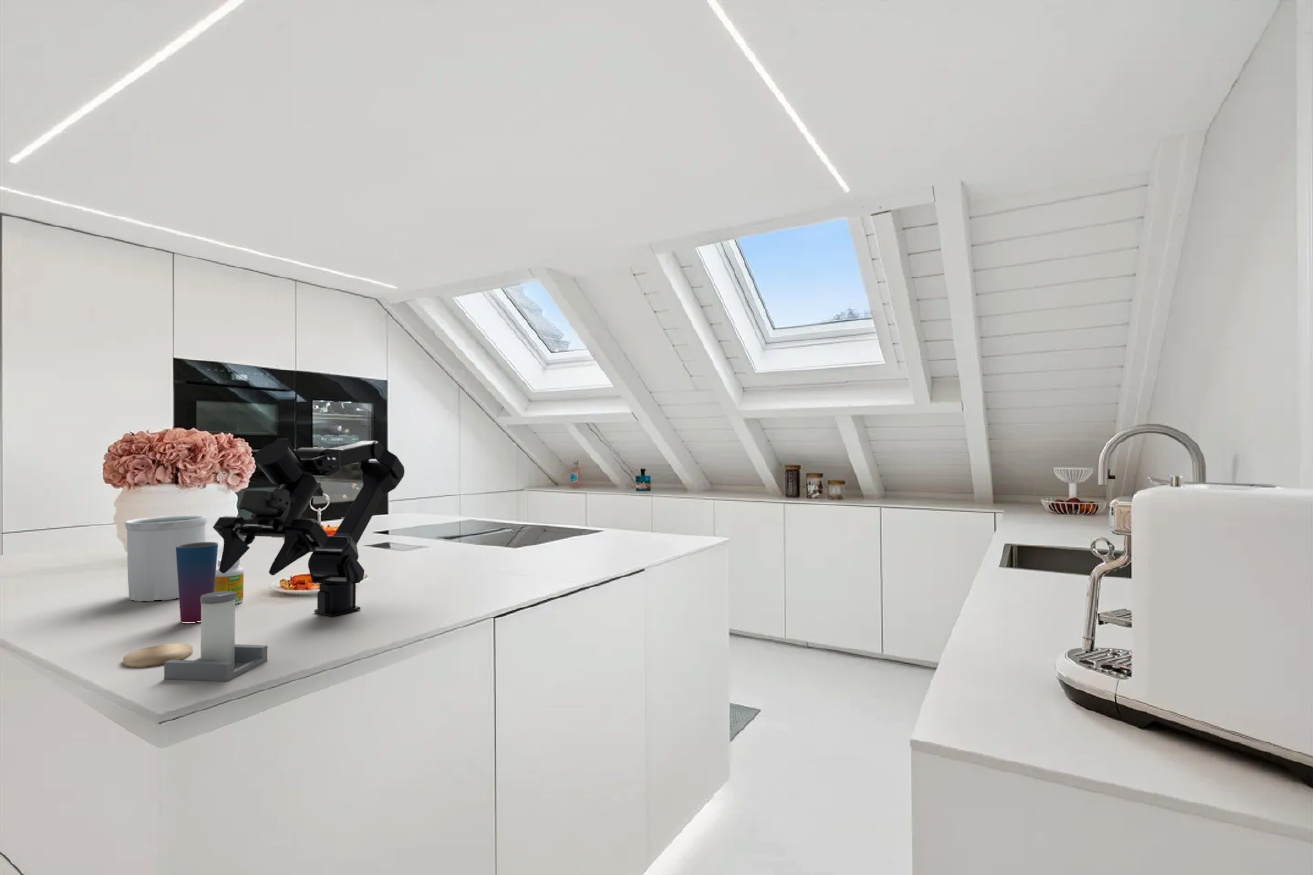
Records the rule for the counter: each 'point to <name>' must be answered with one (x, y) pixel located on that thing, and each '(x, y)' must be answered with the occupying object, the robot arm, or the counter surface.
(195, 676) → the socket frame
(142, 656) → the coaster
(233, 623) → the white jar with lid
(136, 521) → the utensil holder
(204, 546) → the cup
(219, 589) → the supplement bottle
